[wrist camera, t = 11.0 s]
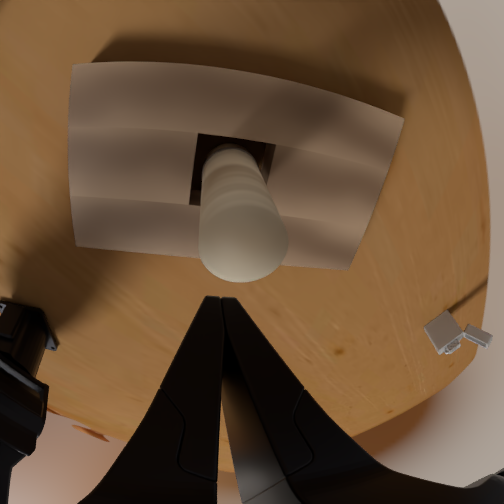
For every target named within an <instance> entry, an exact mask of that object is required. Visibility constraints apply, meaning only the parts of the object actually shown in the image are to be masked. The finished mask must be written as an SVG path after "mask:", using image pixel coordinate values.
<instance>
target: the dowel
mask: <svg viewBox="0 0 504 504" xmlns="http://www.w3.org/2000/svg"><path fill="white" fill-rule="evenodd" d="M288 244H289V240H288V234H287V230H286V228H285V226H284V223H283V221H282V219H281V217H280V215H279V212H278V210H277V208H276V206H275V203H274V201H273V199H272V197H271V195H270V192H269V190H268V188H267V186H266V184H265V182H264V179H263V177H262V175H261V173H260V171H259V167H258V165H257V162H256V161H255V159H254V158H253V156H252V154H251V153H250V152H249V151H248V150H247V149H246V148H244V147H243V146H241V145H238V144H234V143H226V144H222V145H219V146H217V147H215V148H214V149H213V150H211V151H210V152H209V154H208V155H207V156H206V158H205V161H204V165H203V169H202V191H201V206H200V223H199V243H198V250H199V255H200V258H201V261H202V263H203V264H204V266H205V267H206V268H207V269H208V270H209V271H210V272H211V273H212V274H214V275H215V276H217V277H219V278H221V279H224V280H227V281H231V282H250V281H254V280H258V279H260V278H263V277H265V276H267V275H268V274H270V273H271V272H273V271H274V270H275V269H276V268H277V267H278V266H279V265H280V264H281V263H282V261H283V260H284V258H285V256H286V253H287V250H288Z"/></svg>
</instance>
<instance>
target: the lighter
mask: <svg viewBox="0 0 504 504" xmlns="http://www.w3.org/2000/svg"><path fill="white" fill-rule="evenodd" d="M424 330H425V332H426V334H427V335H428V337H429V339H430V340H431V342H432V344H433V345H434V347H435V349H436V350H437V352H438V354H439V355H440V354H442V353H443V352H444V353H445V354H451V353H452V352H454V351H455V350H456V349H458V348H459V347H460V346H461V345H460V342H459V340H461V339H462V338H463V337H465V338H466V339H468V340H470V341H472V342H474V343H476V344H478V345H480V346H482V347H484V348H486V349H488V347H489V345H490V343H491V341H492V337H493V336H492V335H491V334H489V333H487V332H485V331H483V330H481V329H479V328H477V327H475V326H472V325H470V324H468V325H467V327H466V328H465V330H464V332H463V331H462V330H461V328H460V327H459V325H458V324H457V322H456V321H455V320H454V318H453V317H452V315H451V314H450V313H449V311H448V310H446V311H444V312H443V313H442V314H440V315H439V316H438V317H436V318H435V319H434V320H432V321H431V322H430V323H428V324H427V325H426V326H424Z"/></svg>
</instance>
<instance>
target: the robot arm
mask: <svg viewBox="0 0 504 504" xmlns="http://www.w3.org/2000/svg"><path fill="white" fill-rule="evenodd" d="M0 312H1V316H0V504H8V496H9V486H10V478H11V472H12V468H13V467H14V466H15V465H16V464H17V463H18V462H19V461H20V460H22V459H23V458H24V457H25V456H26V455H27V456H30V455H31V454H32V453H33V452H34V451H35V448H36V440H37V438H38V437H39V436H40V434H41V432H42V430H43V427H44V424H45V420H46V412H47V401H48V392H49V386H48V385H47V384H44V383H42V382H40V381H39V380H37V379H36V374H37V371H38V368H39V365H40V362H41V360H42V357H43V354H44V351H45V349H49V350H53V351H56V350H57V344H56V342H55V340H54V337H53V335H52V332H51V330H50V327H49V325H48V322H47V320H46V317H45V315H44V312H43V311H42V310H41V309H38V308H33V307H28V306H23V305H18V304H13V303H9V302H4V301H0ZM221 400H222V406H223V411H224V417H225V423H226V428H227V434H228V439H229V444H230V449H231V454H232V459H233V464H234V469H235V474H236V479H237V483H238V488H239V492H240V497H241V501H242V503H243V504H504V468H503V469H501V470H500V471H498V472H496V473H495V474H490V475H488V476H486V477H484V478H482V479H480V480H478V481H476V482H474V483H472V484H470V485H468V486H466V487H464V488H461V487H454V486H450V485H445V484H440V483H436V482H432V481H428V480H424V479H420V478H416V477H412V476H409V475H406V474H402V473H399V472H396V471H393V470H391V469H389V468H387V467H385V466H384V465H382V464H381V463H379V462H378V461H376V460H375V459H374V458H373V457H372V456H371V455H369V454H368V453H367V452H366V451H365V450H364V449H363V448H362V447H361V446H359V445H358V444H357V443H356V442H355V441H354V440H353V439H352V438H351V437H350V436H349V435H348V434H347V433H345V432H344V431H343V430H342V429H341V428H340V427H339V426H338V425H337V424H336V423H335V422H334V421H333V420H332V419H331V418H330V417H329V416H328V415H327V414H326V412H325V411H324V410H323V409H322V408H321V407H320V405H319V404H318V403H317V402H316V401H315V400H314V398H313V397H312V396H311V395H310V393H309V392H308V391H307V390H306V389H305V390H304V386H303V385H302V384H301V382H300V381H299V380H298V379H297V377H296V376H295V375H294V373H293V372H292V371H291V370H290V368H289V367H288V366H287V365H286V363H285V362H284V361H283V359H282V358H281V357H280V356H279V354H278V353H277V352H276V350H275V349H274V348H273V346H272V345H271V344H270V342H269V341H268V340H267V339H266V337H265V336H264V335H263V333H262V332H261V331H260V329H259V328H258V327H257V325H256V324H255V323H254V321H253V320H252V319H251V317H250V316H249V315H248V313H247V312H246V311H245V309H244V308H243V307H242V305H241V304H240V302H239V301H238V300H237V299H236V298H234V297H222V298H221V299H220V297H219V296H205V297H204V299H203V301H202V303H201V305H200V307H199V309H198V311H197V313H196V315H195V317H194V319H193V321H192V323H191V325H190V327H189V329H188V331H187V333H186V335H185V337H184V339H183V341H182V343H181V345H180V347H179V349H178V351H177V353H176V355H175V357H174V359H173V361H172V363H171V365H170V367H169V369H168V371H167V373H166V375H165V377H164V379H163V381H162V383H161V385H160V389H158V391H157V393H156V395H155V397H154V399H153V401H152V403H151V405H150V407H149V409H148V411H147V413H146V415H145V416H144V418H143V420H142V421H141V423H140V425H139V426H138V428H137V429H136V431H135V433H134V434H133V436H132V437H131V439H130V440H129V442H128V443H127V445H126V446H125V447H124V449H123V451H122V452H121V453H120V455H119V456H118V458H117V459H116V461H115V462H114V463H113V465H112V466H111V468H110V469H109V471H108V472H107V473H106V475H105V476H104V477H103V479H102V480H101V481H100V483H99V484H98V485H97V486H96V487H95V488H94V489H93V490H92V492H91V493H89V494H88V495H87V496H86V497H85V498H84V499H82V500H81V501H80V502H79V503H77V504H217V483H216V482H217V476H218V452H219V430H220V410H221Z"/></svg>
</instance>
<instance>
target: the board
mask: <svg viewBox="0 0 504 504" xmlns="http://www.w3.org/2000/svg"><path fill="white" fill-rule="evenodd" d="M404 120H405V119H404V118H402V117H399V116H397V115H394V114H392V113H389V112H387V111H384V110H382V109H379V108H377V107H374V106H371V105H369V104H366V103H363V102H360V101H358V100H355V99H352V98H349V97H346V96H343V95H339V94H336V93H333V92H330V91H326V90H323V89H320V88H316V87H312V86H309V85H305V84H301V83H297V82H293V81H289V80H285V79H280V78H276V77H271V76H266V75H261V74H256V73H251V72H245V71H239V70H233V69H226V68H219V67H211V66H202V65H193V64H181V63H166V62H97V63H82V64H73V66H72V75H71V85H70V97H69V114H68V171H69V189H70V202H71V212H72V222H73V230H74V237H75V244H76V246H77V247H87V248H97V249H107V250H117V251H128V252H138V253H149V254H160V255H170V256H181V257H192V258H200V255H199V250H198V243H199V223H200V206H201V191H202V190H195V189H191V185H192V177H193V169H194V162H195V154H196V147H197V140H198V133H202V134H211V135H219V136H226V137H233V138H240V139H247V140H253V141H259V142H265V143H267V144H266V149H265V153H264V158H263V162H262V167H261V171H260V173H261V175H262V177H263V179H264V182H265V184H266V186H267V188H268V190H269V192H270V195H271V197H272V199H273V201H274V203H275V206H276V208H277V210H278V212H279V215H280V217H281V219H282V221H283V223H284V226H285V228H286V230H287V234H288V240H289V244H288V250H287V253H286V256H285V258H284V260H283V261H282V263H281V264H280V265H286V266H298V267H311V268H324V269H337V270H349V267H350V265H351V263H352V261H353V258H354V256H355V254H356V252H357V249H358V247H359V245H360V242H361V240H362V237H363V235H364V233H365V230H366V228H367V225H368V223H369V220H370V218H371V215H372V213H373V210H374V208H375V205H376V202H377V200H378V197H379V195H380V192H381V189H382V186H383V184H384V181H385V178H386V175H387V172H388V170H389V167H390V164H391V161H392V158H393V155H394V152H395V149H396V146H397V143H398V139H399V136H400V133H401V130H402V126H403V123H404Z"/></svg>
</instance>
